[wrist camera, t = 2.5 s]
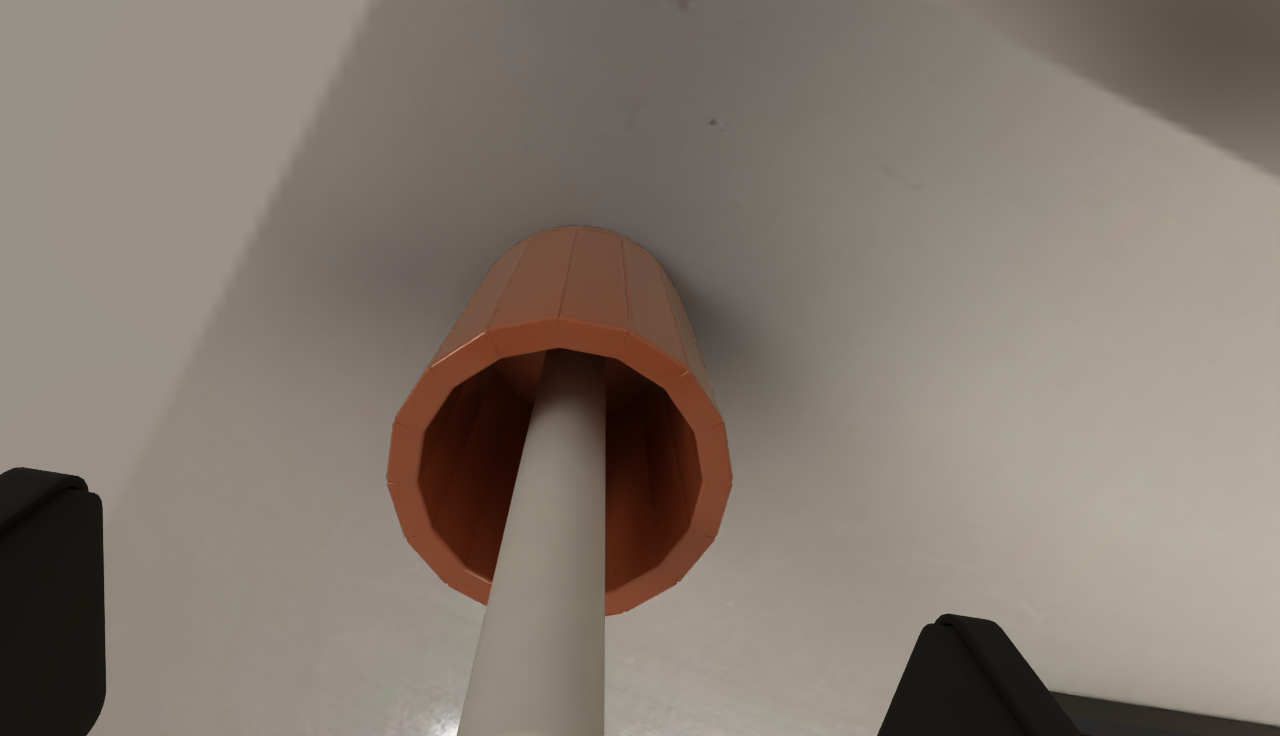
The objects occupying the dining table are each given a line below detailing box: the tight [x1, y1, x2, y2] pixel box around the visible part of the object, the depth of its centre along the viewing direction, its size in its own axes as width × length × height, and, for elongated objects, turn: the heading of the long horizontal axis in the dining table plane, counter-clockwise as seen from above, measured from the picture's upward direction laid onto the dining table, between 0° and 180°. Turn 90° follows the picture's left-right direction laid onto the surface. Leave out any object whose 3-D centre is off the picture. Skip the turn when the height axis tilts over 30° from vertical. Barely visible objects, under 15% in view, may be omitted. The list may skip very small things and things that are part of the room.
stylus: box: [457, 348, 606, 736], centre depth 13 cm, size 1×1×13 cm
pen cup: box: [386, 226, 733, 616], centre depth 16 cm, size 5×5×8 cm
